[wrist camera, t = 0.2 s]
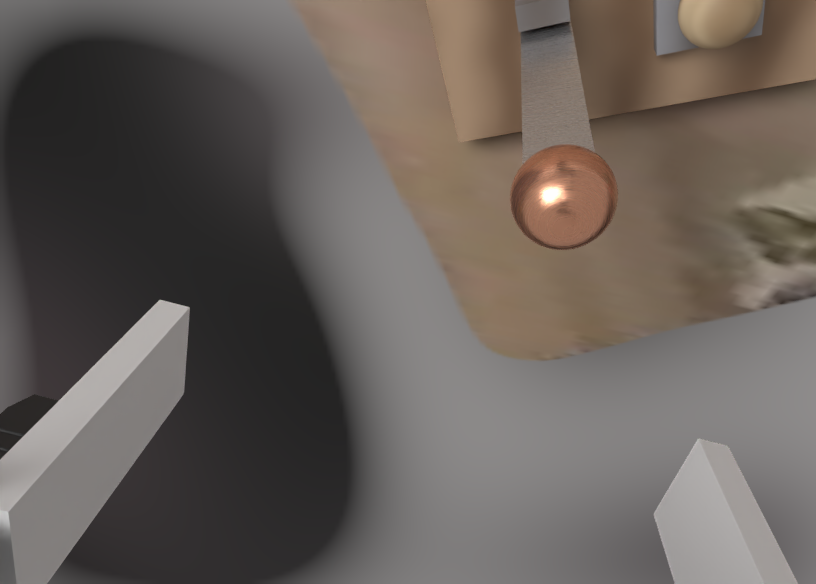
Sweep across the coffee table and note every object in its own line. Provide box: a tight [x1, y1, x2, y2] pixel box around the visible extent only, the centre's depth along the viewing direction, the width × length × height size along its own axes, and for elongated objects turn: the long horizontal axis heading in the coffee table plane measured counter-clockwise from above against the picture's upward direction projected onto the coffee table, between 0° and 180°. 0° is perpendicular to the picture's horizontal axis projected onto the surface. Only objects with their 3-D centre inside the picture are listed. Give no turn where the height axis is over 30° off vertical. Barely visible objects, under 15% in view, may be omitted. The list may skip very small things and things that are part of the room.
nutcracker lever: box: [510, 20, 618, 250], centre depth 26 cm, size 4×4×17 cm
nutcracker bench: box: [425, 0, 816, 142], centre depth 31 cm, size 20×12×7 cm, turn 105°
